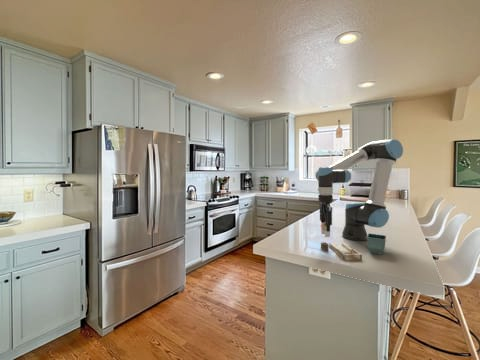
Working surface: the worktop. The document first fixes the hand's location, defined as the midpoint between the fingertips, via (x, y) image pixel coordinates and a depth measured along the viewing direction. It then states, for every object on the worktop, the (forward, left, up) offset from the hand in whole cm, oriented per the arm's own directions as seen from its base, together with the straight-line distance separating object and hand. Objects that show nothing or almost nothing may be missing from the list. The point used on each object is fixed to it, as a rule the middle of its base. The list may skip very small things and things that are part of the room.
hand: (325, 235), depth 138 cm
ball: (0, 0, +5) cm, 5 cm away
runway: (-8, +1, -8) cm, 11 cm away
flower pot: (-26, +5, -8) cm, 28 cm away
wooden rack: (-8, +12, -8) cm, 16 cm away
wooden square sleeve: (+1, 0, -8) cm, 8 cm away
